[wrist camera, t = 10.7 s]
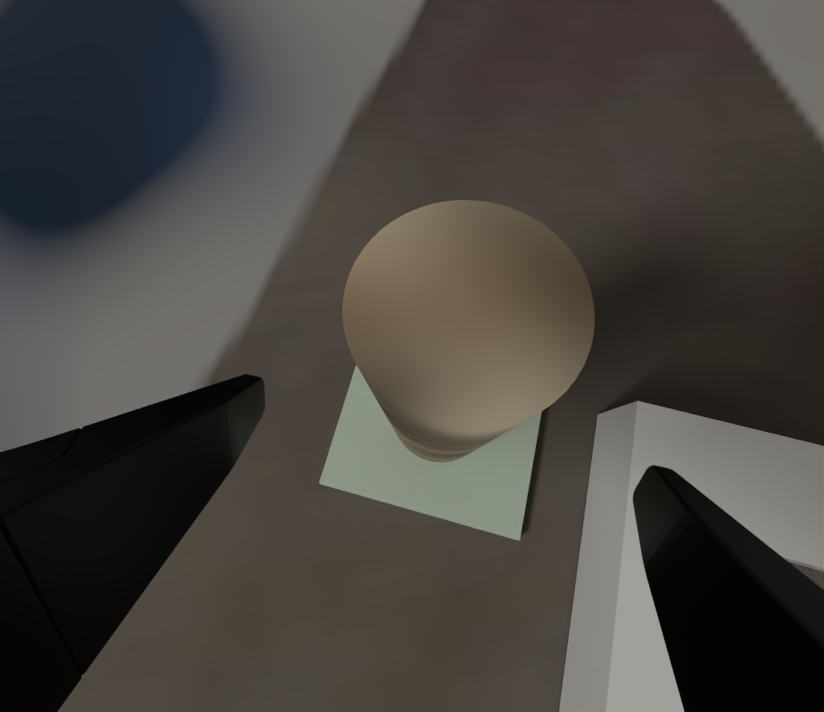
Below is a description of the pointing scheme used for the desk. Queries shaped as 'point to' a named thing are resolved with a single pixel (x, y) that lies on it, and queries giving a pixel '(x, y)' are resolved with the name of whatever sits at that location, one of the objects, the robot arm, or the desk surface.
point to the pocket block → (621, 554)
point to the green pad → (431, 469)
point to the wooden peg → (466, 323)
